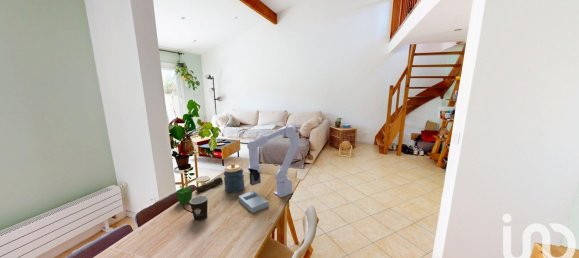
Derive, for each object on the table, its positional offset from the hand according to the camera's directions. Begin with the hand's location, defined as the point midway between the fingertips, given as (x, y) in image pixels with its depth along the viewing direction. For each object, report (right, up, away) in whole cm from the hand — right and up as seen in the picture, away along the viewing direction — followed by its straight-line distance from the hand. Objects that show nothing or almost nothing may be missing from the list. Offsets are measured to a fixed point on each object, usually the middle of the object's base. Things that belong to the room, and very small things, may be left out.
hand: (255, 179), depth 134 cm
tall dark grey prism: (0, -2, 0) cm, 3 cm away
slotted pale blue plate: (0, -11, -11) cm, 16 cm away
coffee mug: (-26, -14, -22) cm, 37 cm away
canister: (-15, -8, +9) cm, 19 cm away
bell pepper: (-41, -12, -7) cm, 43 cm away
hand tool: (-33, -8, +12) cm, 36 cm away
